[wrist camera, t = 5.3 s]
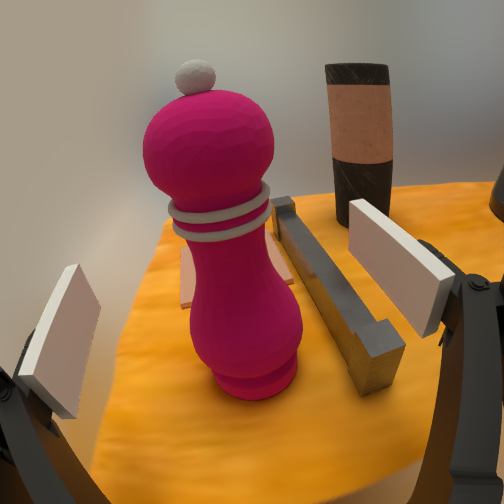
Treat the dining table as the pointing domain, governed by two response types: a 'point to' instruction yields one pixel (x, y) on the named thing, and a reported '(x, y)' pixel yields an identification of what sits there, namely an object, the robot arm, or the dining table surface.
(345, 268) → the dining table surface
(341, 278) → the handrail
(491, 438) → the robot arm
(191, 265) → the end tile
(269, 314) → the pepper mill
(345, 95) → the travel mug
